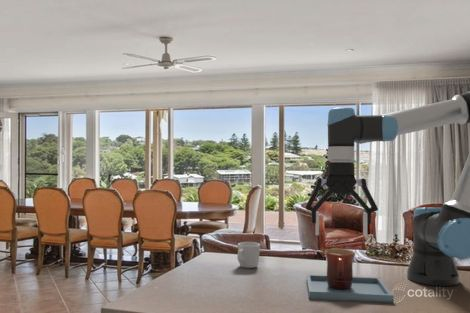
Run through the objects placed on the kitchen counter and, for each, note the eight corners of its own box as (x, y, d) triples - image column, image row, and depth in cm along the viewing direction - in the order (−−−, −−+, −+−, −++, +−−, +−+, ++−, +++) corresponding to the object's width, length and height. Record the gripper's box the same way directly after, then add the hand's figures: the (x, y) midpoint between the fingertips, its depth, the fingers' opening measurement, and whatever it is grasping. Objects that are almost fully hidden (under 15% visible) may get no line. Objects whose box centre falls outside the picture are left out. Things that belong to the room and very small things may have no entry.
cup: (248, 272, 147) (249, 248, 147) (228, 268, 151) (228, 245, 151) (264, 266, 156) (264, 243, 156) (244, 263, 160) (245, 240, 161)
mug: (324, 282, 134) (324, 248, 134) (354, 284, 133) (354, 249, 133) (324, 293, 123) (324, 256, 123) (356, 295, 121) (357, 258, 121)
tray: (379, 284, 135) (379, 277, 135) (393, 303, 117) (393, 295, 117) (306, 280, 138) (306, 274, 138) (309, 298, 120) (309, 291, 120)
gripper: (382, 161, 130) (382, 233, 130) (297, 161, 133) (297, 232, 133) (388, 161, 123) (388, 238, 122) (297, 161, 126) (297, 236, 125)
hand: (341, 235), depth 128 cm, fingers open, 13 cm apart
